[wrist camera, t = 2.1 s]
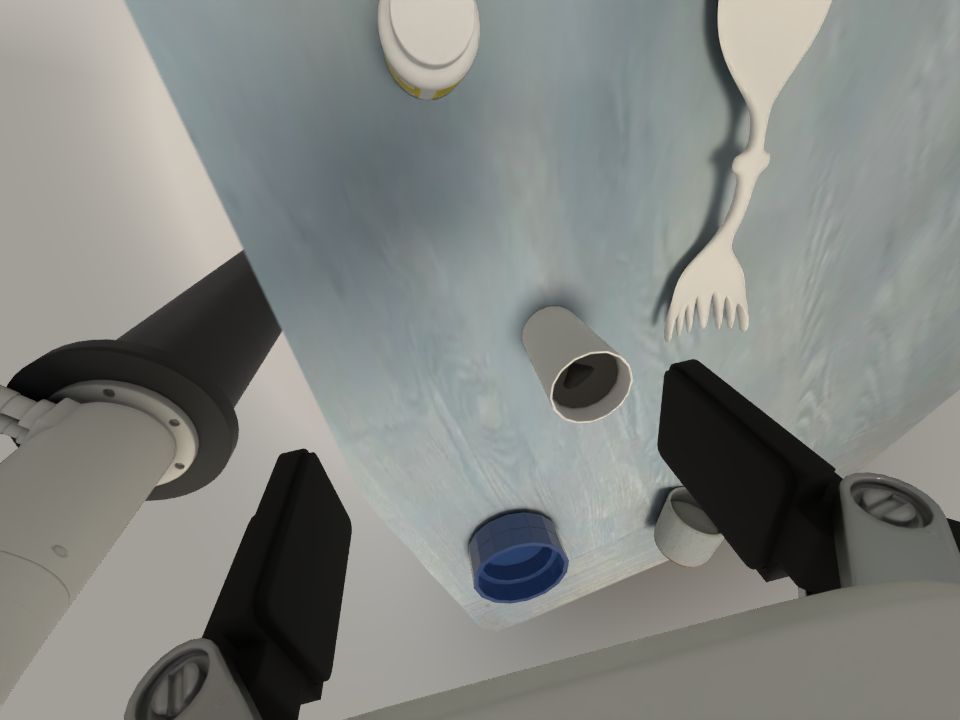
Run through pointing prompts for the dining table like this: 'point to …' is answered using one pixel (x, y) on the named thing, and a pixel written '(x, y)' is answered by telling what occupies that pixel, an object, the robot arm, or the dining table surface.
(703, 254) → the cream back scratcher
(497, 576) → the bowl
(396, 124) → the dining table surface
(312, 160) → the dining table surface
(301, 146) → the dining table surface
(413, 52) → the supplement bottle
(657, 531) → the ceramic mug
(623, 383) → the white cylindrical cup
